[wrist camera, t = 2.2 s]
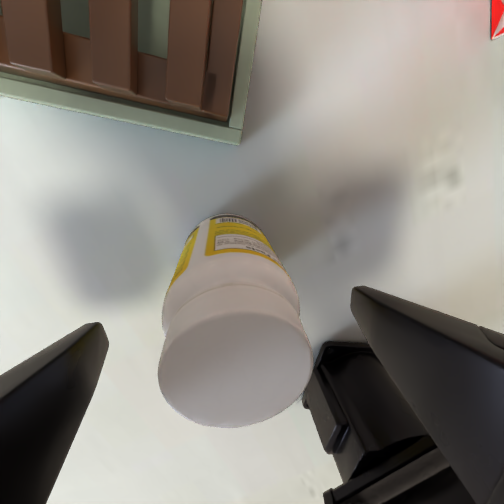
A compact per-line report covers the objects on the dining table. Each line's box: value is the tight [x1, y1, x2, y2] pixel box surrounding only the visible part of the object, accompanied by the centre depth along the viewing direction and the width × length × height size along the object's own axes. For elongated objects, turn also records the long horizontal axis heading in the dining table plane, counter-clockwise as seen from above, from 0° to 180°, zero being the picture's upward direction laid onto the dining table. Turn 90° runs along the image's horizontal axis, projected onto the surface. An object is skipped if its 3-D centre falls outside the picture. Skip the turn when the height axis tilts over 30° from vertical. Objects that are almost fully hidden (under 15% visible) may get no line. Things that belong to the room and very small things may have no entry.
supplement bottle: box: [158, 214, 313, 428], centre depth 10 cm, size 5×5×8 cm
